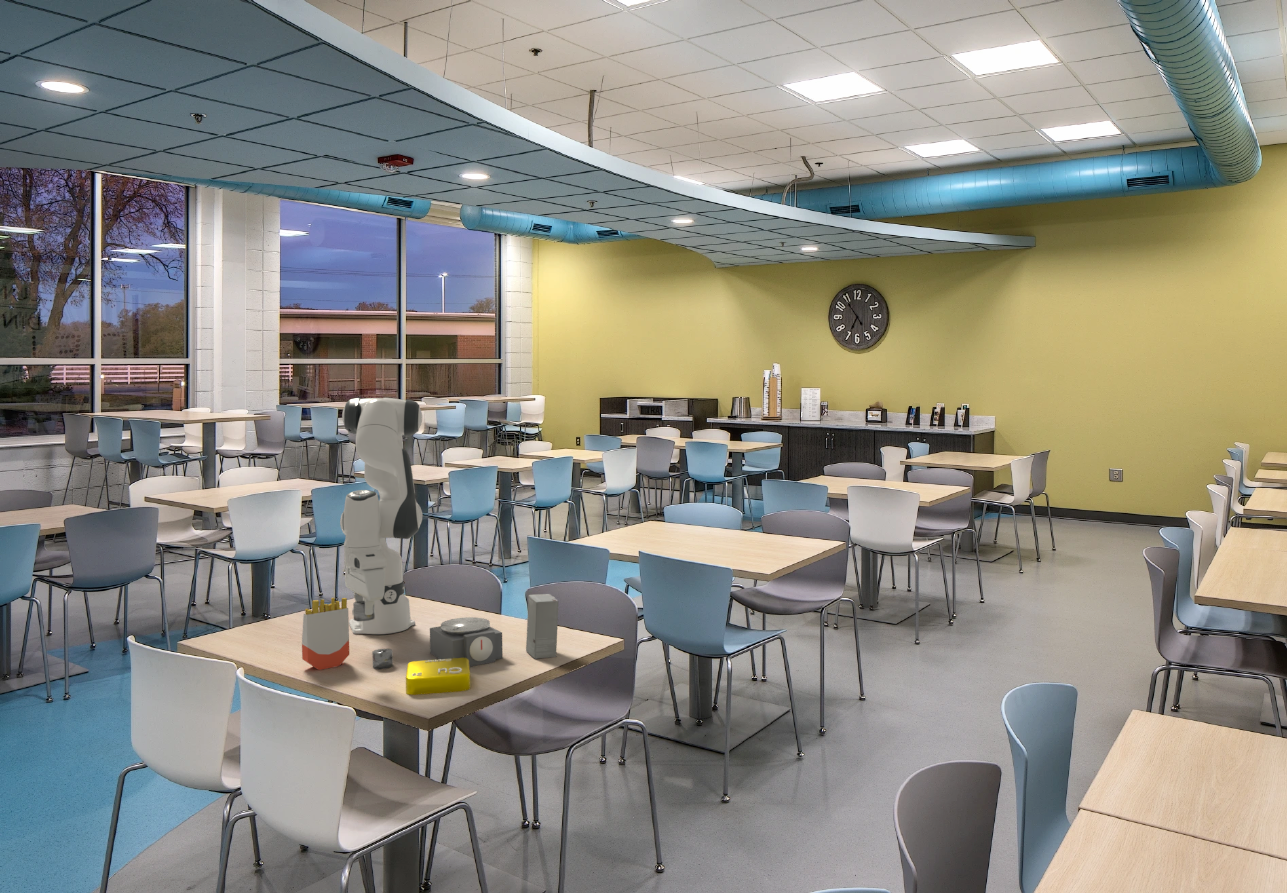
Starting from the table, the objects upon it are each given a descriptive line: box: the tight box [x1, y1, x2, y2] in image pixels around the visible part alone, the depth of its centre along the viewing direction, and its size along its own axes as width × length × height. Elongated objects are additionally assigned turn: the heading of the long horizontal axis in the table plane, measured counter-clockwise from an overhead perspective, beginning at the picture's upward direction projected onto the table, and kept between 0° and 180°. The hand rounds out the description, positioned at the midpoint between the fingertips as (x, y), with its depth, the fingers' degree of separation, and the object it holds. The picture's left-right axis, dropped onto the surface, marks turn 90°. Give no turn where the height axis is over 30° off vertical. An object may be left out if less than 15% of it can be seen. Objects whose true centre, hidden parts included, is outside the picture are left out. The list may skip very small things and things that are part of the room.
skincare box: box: [525, 593, 559, 660], centre depth 242 cm, size 8×7×16 cm
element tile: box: [405, 658, 471, 696], centre depth 218 cm, size 15×15×5 cm
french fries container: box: [301, 597, 350, 671], centre depth 232 cm, size 5×11×18 cm, turn 130°
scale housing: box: [429, 625, 504, 668], centre depth 240 cm, size 18×14×8 cm
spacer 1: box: [352, 601, 375, 621], centre depth 221 cm, size 5×5×4 cm
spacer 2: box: [371, 648, 394, 670], centre depth 232 cm, size 5×5×4 cm
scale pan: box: [440, 616, 491, 634], centre depth 241 cm, size 13×13×1 cm
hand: (364, 611), depth 221 cm, fingers closed on spacer 1, 5 cm apart
